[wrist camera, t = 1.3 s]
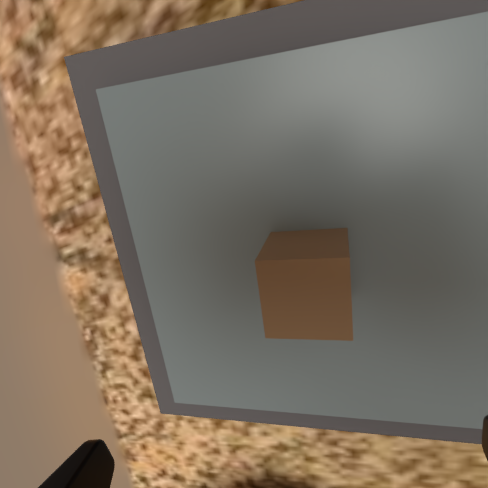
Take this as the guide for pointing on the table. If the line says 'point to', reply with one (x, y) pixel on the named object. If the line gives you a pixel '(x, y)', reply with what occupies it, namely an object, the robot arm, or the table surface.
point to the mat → (216, 53)
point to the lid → (318, 224)
